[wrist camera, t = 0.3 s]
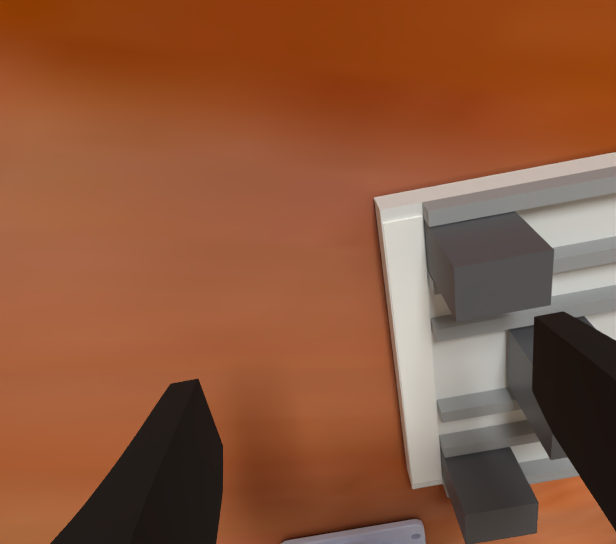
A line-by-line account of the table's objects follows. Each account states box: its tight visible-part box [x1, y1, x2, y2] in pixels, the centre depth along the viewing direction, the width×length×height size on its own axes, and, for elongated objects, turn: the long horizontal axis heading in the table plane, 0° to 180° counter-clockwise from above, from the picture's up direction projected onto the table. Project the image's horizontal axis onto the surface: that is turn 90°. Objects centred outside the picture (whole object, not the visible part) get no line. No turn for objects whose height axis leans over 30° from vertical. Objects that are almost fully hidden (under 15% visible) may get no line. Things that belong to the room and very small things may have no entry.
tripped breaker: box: [508, 316, 595, 460], centre depth 20 cm, size 3×3×4 cm
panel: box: [374, 152, 616, 544], centre depth 21 cm, size 15×12×5 cm
